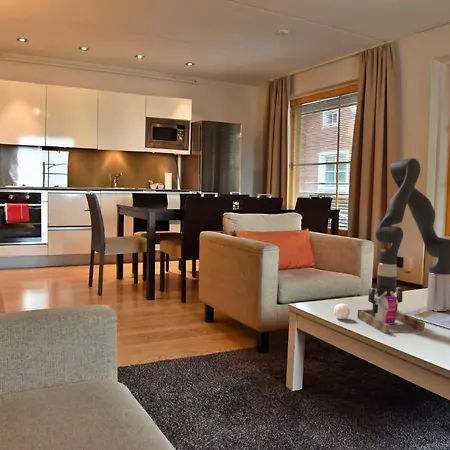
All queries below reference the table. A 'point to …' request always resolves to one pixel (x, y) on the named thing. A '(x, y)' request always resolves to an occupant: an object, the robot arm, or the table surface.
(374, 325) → the shallow wooden tray
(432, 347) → the table surface
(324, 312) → the table surface
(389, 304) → the supplement box
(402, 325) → the loading mat
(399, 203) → the robot arm
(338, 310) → the ornament
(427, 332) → the table surface
